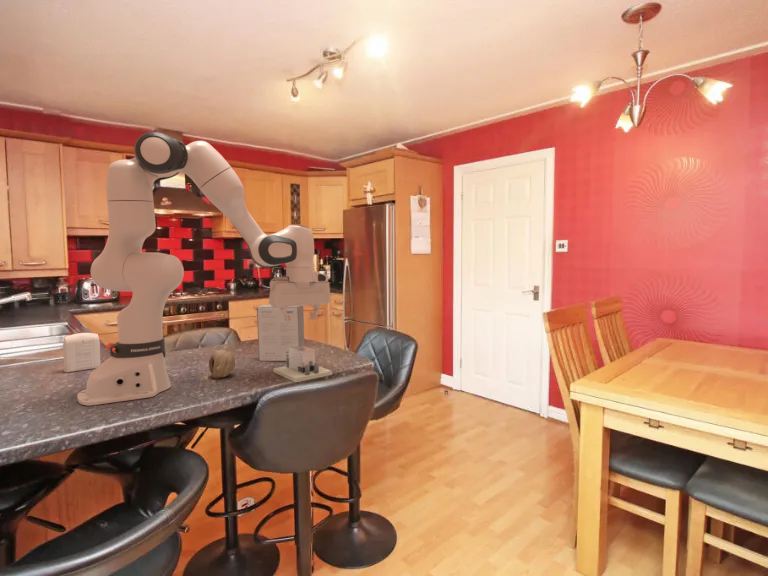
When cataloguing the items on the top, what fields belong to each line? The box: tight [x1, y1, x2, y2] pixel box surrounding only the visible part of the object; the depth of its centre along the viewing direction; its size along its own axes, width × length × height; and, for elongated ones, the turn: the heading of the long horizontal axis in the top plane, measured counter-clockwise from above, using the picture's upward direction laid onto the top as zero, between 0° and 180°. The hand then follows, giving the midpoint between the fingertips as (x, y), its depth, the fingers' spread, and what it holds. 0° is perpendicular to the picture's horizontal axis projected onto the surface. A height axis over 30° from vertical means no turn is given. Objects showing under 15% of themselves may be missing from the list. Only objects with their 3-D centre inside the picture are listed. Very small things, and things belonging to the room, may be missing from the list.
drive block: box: [289, 345, 316, 374], centre depth 139 cm, size 5×9×7 cm, turn 40°
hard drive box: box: [256, 304, 305, 362], centre depth 159 cm, size 16×8×20 cm, turn 84°
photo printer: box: [62, 332, 102, 373], centre depth 145 cm, size 10×4×12 cm, turn 135°
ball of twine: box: [208, 346, 236, 379], centre depth 137 cm, size 9×8×10 cm
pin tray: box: [272, 358, 333, 383], centre depth 139 cm, size 13×15×4 cm
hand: (300, 319), depth 138 cm, fingers open, 8 cm apart
